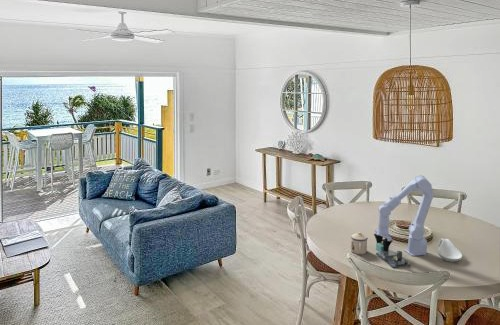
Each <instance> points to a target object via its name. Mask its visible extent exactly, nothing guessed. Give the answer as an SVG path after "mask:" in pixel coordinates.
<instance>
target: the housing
mask: <svg viewBox="0 0 500 325" xmlns="http://www.w3.org/2000/svg"><path fill="white" fill-rule="evenodd" d="M375 245H376V247H375V250H376V251H377V252H378V251H383V250H384V248H383V242H382V243H377V242H376V244H375ZM388 250H390V248H389V249H388Z"/></svg>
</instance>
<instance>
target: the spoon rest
mask: <svg viewBox="0 0 500 325" xmlns="http://www.w3.org/2000/svg"><path fill="white" fill-rule="evenodd" d="M437 246H438V250H437V252H438V253H437V254H438V256H439V257H440V258H441V259H442V260H444V261H447V262H451V263H454V262H458V261H461V260H462V258H463V254H462V252H461V251H460V250H459V249H458V248H457V247H456V246H455V245H454V244H453V242H452V241H451V240H450V239H449V238H440V240H439V241H438V245H437Z"/></svg>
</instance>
